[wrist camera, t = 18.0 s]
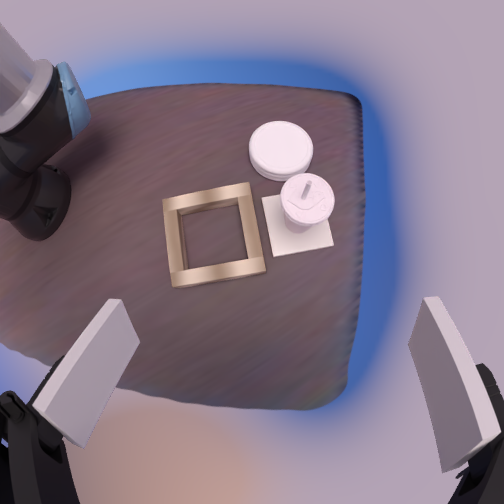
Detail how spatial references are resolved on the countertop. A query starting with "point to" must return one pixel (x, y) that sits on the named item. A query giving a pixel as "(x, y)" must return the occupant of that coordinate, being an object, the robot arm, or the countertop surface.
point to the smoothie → (306, 202)
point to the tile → (288, 241)
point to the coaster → (280, 150)
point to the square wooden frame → (203, 202)
